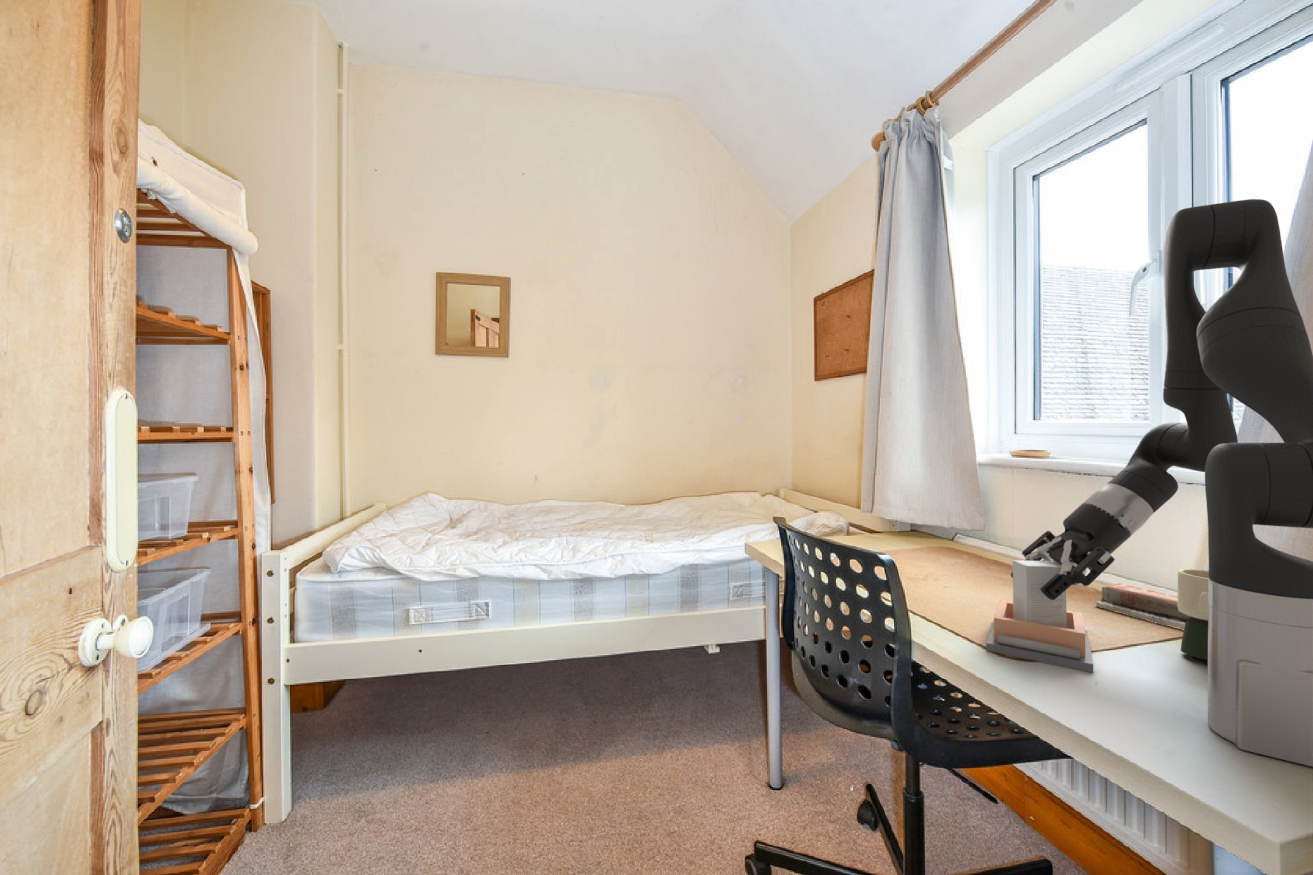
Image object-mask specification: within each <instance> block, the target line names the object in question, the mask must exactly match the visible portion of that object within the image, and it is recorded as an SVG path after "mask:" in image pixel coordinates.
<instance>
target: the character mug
mask: <svg viewBox="0 0 1313 875" xmlns="http://www.w3.org/2000/svg"><path fill="white" fill-rule="evenodd" d="M1177 597H1178V610H1179V611H1180V612H1182V613H1184V614H1186V615H1188V616H1191V617H1189V618H1188V620H1187V621H1186V623H1185V627H1184V631H1182V632H1183V633H1182V638H1181V645H1180V652H1181V653H1183V654H1185V655H1189V656H1191V657H1193V658H1197V659H1201V660H1205V662H1206V663H1207V664H1208V603H1209V569H1208V570H1207V569H1206V570H1205V569H1198V568H1197V569H1194V568H1183V569H1182V568H1181V569H1178V570H1177Z"/></svg>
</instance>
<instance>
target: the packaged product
mask: <svg viewBox="0 0 1313 875" xmlns="http://www.w3.org/2000/svg"><path fill="white" fill-rule="evenodd" d="M1095 605H1096V606H1098V607H1102V608H1105V609H1108V610H1107V611H1109V610H1112V611H1118V612H1121V613H1125V614H1128V615H1131V616H1134V617H1137V618H1136V619H1138V618H1144V619H1147V620H1150V621H1153V622H1157V623H1160V624H1163V625H1171V626H1174V627H1179V628H1181V629H1184V627H1185V623H1186V621H1187V620H1188V618H1189V617H1191V616H1188V615H1186V614H1184V613H1182V612H1180V611H1179V610H1178V595H1171V594H1167V593H1163V592H1159V591H1155V590H1150V589H1148V588H1147V589H1146V588H1141V587H1139V586H1134V585H1129V584H1126V583H1115V584H1109V585H1104V586H1103V587H1101V599H1100V600H1096V602H1095V604H1094V606H1095ZM1105 609H1104V610H1105ZM1112 611H1111V612H1112ZM1134 617H1133V618H1134ZM1163 625H1162V626H1163Z"/></svg>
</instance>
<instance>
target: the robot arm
mask: <svg viewBox="0 0 1313 875" xmlns="http://www.w3.org/2000/svg"><path fill="white" fill-rule="evenodd" d="M1162 248H1163V249H1162V270H1163V273H1162V274H1163V294H1164V295H1163V296H1164V314H1165V323H1166V324H1165V325H1166V361H1165V369H1164V370H1165V371H1164V380H1163V389H1162V390H1163V391H1162V400H1163V403H1164V404H1165V405H1166V406H1168V407H1170V408H1173V409H1176V410H1178V411H1180V412H1181V413H1183V415H1184V418H1185V421H1186V422H1182V421H1179V422H1178V421H1167V422H1164V423H1161V424H1157V425H1156V426H1153V428H1151V429H1150V430H1149V431H1147V432H1146V433H1145V434H1144V436H1143V437H1142V438H1141V440H1140V442H1139V443H1138V445H1137V447H1136V449H1135V450H1134V451H1133V453H1132V455H1131V457H1130V458H1129V460H1128V462H1127V464H1126V465H1125V467H1124V468H1123V469H1122V470H1121V471H1119V472H1118V473H1117V474H1116V475H1115V476H1114V477H1113V478H1112V479H1110V480H1109V481H1108V482H1107V483H1106V484H1105V485H1104V486H1102V487H1101V488H1099V489H1098V490H1096V491H1095V492H1093V494H1091V495H1089V497H1087V499H1086V500H1084V501H1083V503H1081V504H1080V505H1079V506H1078V507H1077V508H1076V509H1075V510H1073V511H1072V512H1071V513H1070V514H1069V515H1068V516H1066V518H1065V519H1063V521H1062V525H1063V527H1064V531H1063V532H1062V533H1061V534H1059V535H1055V534H1053V532H1051V531H1050V530H1047V531H1045V532H1044V533H1043V534H1041V535H1040V536H1039V537H1038V538H1037V539H1035V541H1033V542H1032V543H1031V544H1029V545H1028V546H1027V547H1026V548H1025V549H1024V550H1022V552H1021V555H1022V556H1024V559H1025V560H1024V561H1052V562H1054V563H1057V564H1060V565H1062V568H1061V571H1060V574H1061V575H1060V574H1056V575H1055V576H1054V577H1053V578H1052V579H1051V580H1049V581H1048V582H1047V583H1046V584H1045V585H1044V586H1043V587H1042V588H1041V592H1042V593H1043V594H1044V595H1045V596H1046V597H1047V598H1049V599H1051V600H1055V599H1056V598H1057V597H1058V596H1060V595H1061V594H1062V593H1063V592H1064V591H1065V590H1066V591H1067V590H1068V589H1069V587H1072V586H1077V585H1079V584H1081V585H1082V586H1083V587H1088V586H1089V585H1091V584H1092V583H1093V582H1094V581H1095V580H1096V579H1097V578H1099V577H1100V575H1101V574H1102V573H1104V571H1106V570H1107V568H1109V566H1111V565H1112V564H1113V563H1114V562H1115V560H1116V559H1115V557H1113V556H1112V554H1113V553H1114V552H1115V551H1117V549H1118V548H1120V547H1121V546H1122V545H1123V544H1124V543H1125V542H1126V541H1127V540H1128V539H1130V537H1132V536H1133V535H1135V533H1136V532H1137V531H1139V529H1141V528H1142V527H1143V526H1144V525H1145V524H1146V522H1148V520H1149V519H1150V518H1151V517H1152V515H1154V514H1155V513H1156V512H1157V511H1158V510H1159V509H1160V508H1161V507H1162V506H1163V505H1165V504H1166V503H1167V502H1168V501H1170V500H1171V499H1172V498H1173V497H1174V496H1175V494H1176V493H1177V491H1178V489H1179V484H1178V481H1177V479H1176V478H1175V477H1174V476H1173V475H1172V474H1171V473H1169V472H1168V470H1169V469H1170V468H1171V467H1177V468H1180V469H1181V468H1182V469H1185V470H1191V471H1196V472H1201V473H1204V490H1205V499H1206V500H1205V502H1206V513H1207V514H1206V515H1207V527H1208V528H1207V531H1208V533H1207V535H1208V536H1207V537H1208V538H1207V541H1208V549H1207V550H1208V552H1207V553H1208V571H1209V603H1208V663H1207V725H1208V726H1209V727H1210V728H1209V729H1211V730H1212V731H1213V732H1214V733H1216V734H1218V736H1220V737H1221V738H1222V737H1223V739H1224V738H1225V739H1226V740H1227V741H1230V742H1231V743H1233V744H1235V746H1236V748H1238V749H1239V750H1243V751H1246V752H1251V753H1255V754H1258V755H1262V756H1263V755H1264V756H1268V757H1272V758H1275V759H1279V760H1284V761H1287V762H1292V763H1296V764H1301V765H1304V766H1308V767H1312V768H1313V560H1311V559H1310V560H1309V559H1307V558H1303V557H1299V556H1296V555H1293V554H1291V553H1290V554H1289V553H1287V552H1284V551H1282V550H1279V549H1277V548H1275V547H1272V546H1270V545H1268V544H1267V543H1264V542H1263V541H1261V540H1260V539H1258V538H1257V537H1256V535H1255V532H1254V527H1253V526H1254V525H1255V526H1257V525H1258V526H1269V527H1270V526H1271V527H1284V528H1285V527H1286V528H1302V529H1313V351H1312V346H1311V342H1310V339H1309V335H1308V332H1307V329H1306V326H1305V323H1304V319H1303V317H1302V314H1301V311H1300V309H1299V307H1298V304H1297V302H1296V300H1295V296H1294V294H1293V289H1292V287H1291V284H1290V281H1289V277H1288V274H1287V269H1286V263H1285V259H1284V251H1283V243H1282V236H1281V229H1280V222H1279V218H1278V215H1277V211H1276V209H1275V207H1274V205H1273V204H1272V203H1271V202H1270V201H1268V200H1266V199H1259V198H1257V199H1256V198H1251V199H1240V200H1234V201H1227V202H1220V203H1219V202H1218V203H1213V204H1206V205H1204V204H1203V205H1199V206H1192V207H1186V208H1183V209H1180V210H1178V211H1177V212H1176V213H1174V215H1173V216H1172V217H1171V219H1170V220H1169V222H1168V225H1167V227H1166V230H1165V234H1164V240H1163V246H1162ZM1225 268H1226V269H1227V268H1236V269H1238V270H1240V272H1241V273H1240V275H1238V278H1236V280H1235V281H1234V283H1233V284H1232V285H1231V286H1230V287H1229V288H1228V289H1227V290H1226V291H1225V292H1224V293H1222V295H1221V296H1220V297H1219V298H1217V300H1216V301H1215V302H1214V303H1213V304H1212V305H1211V306H1210V307H1209V308H1208V309H1207V311H1206V310H1205V309H1204V307H1203V305H1202V304H1201V302H1200V300H1199V298H1198V296H1197V292H1196V290H1195V285H1194V272H1196V271H1203V270H1214V269H1225ZM1228 395H1229V396H1230V397H1232V398H1233V399H1235V400H1237V401H1238V402H1239V403H1241V404H1243V405H1245V407H1247V408H1249V409H1250V410H1252V411H1254V413H1257V415H1260V416H1261V417H1262V418H1263V419H1265V421H1266V422H1268V423H1269V424H1270V425H1271V426H1272V428H1273V429H1274V430H1275V432H1277V434H1278V435H1279V436H1280V438H1281V439H1282V441H1283V442H1238V440H1239V438H1238V433H1237V430H1236V426H1235V422H1234V417H1233V414H1232V409H1231V406H1230V403H1229V399H1228ZM1035 550H1036V551H1035ZM1087 569H1088V570H1089V573H1088V574H1086V573H1087ZM1010 577H1011V578H1012V579H1013V571H1012V572H1011V573H1010Z"/></svg>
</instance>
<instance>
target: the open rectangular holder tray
mask: <svg viewBox="0 0 1313 875" xmlns="http://www.w3.org/2000/svg"><path fill="white" fill-rule="evenodd" d="M1066 619H1067V628H1062V627H1056V626H1051V625H1045V624H1039V623H1033V622H1028V621H1022V620H1016V619H1013V601H1009V600H1003V599H999V601H998V604H997V607H996V610H995V614H994V616H993V621H992V625H991V628H990V631H989V635H988V638H987V641H986V651H987V652H992V653H997V654H1001V655H1006V656H1012V657H1016V658H1021V659H1024V660H1025V659H1026V660H1029V661H1034V662H1035V661H1036V662H1040V663H1043V664H1044V663H1045V664H1049V665H1055V666H1059V667H1065V668H1070V669H1074V670H1078V671H1083V672H1087V673H1091V674H1093V673H1094V662H1093V654H1092V651H1091V650H1092V649H1091V645H1090V639H1089V634H1088V630H1085V624H1084V619H1083V613H1082V612H1079V611H1074V610H1067V609H1066Z"/></svg>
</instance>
